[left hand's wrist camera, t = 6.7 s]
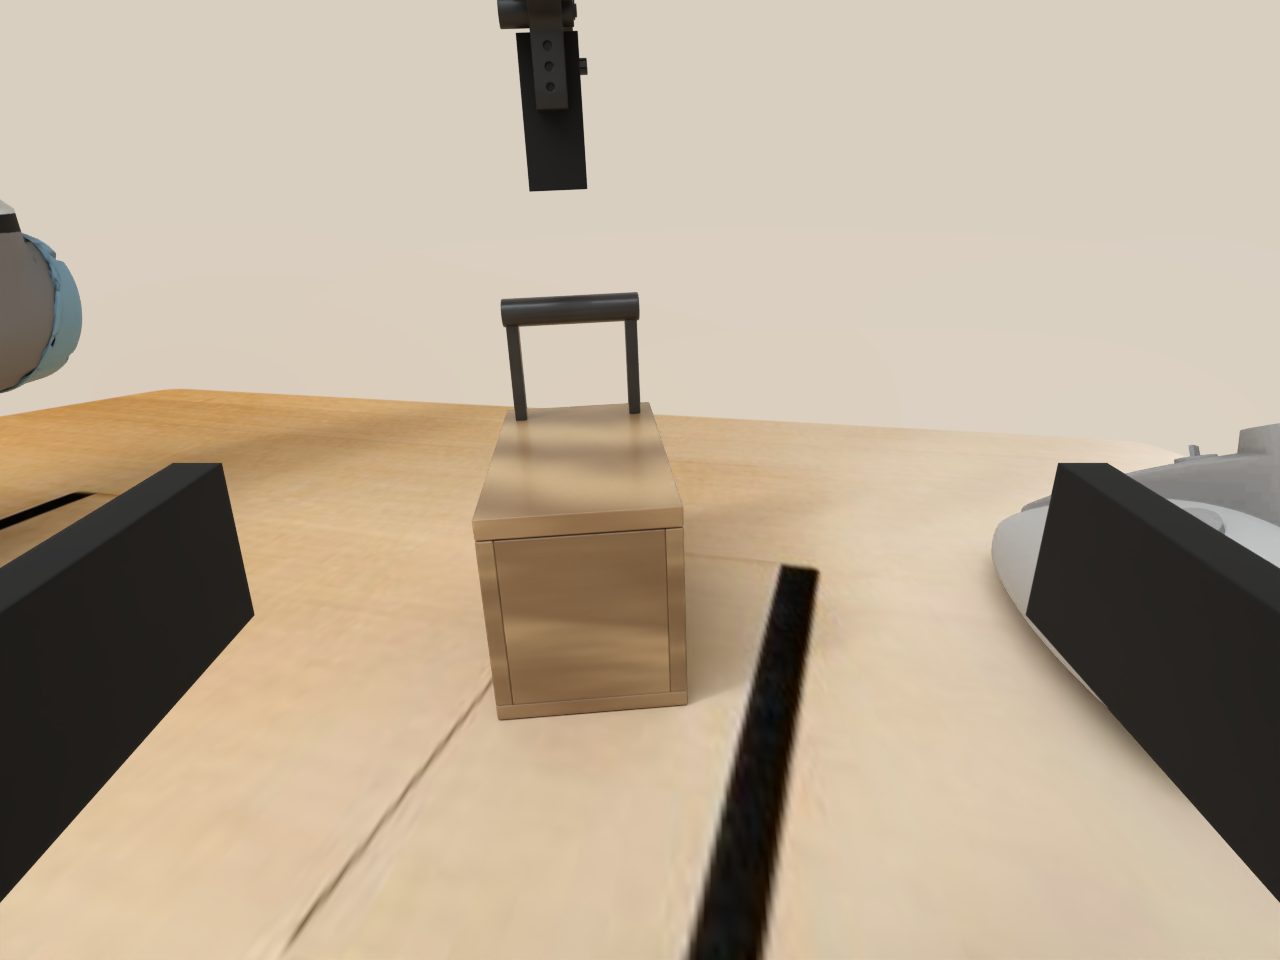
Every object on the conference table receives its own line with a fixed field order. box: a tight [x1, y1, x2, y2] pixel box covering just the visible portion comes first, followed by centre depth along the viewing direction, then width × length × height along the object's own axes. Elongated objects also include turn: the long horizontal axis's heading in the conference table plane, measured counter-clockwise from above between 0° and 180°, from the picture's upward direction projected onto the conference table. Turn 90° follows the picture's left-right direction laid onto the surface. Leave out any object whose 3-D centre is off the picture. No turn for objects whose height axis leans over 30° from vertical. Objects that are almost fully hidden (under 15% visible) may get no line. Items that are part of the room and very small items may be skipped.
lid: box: [472, 292, 683, 541], centre depth 40 cm, size 17×9×8 cm, turn 5°
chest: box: [475, 526, 687, 720], centre depth 43 cm, size 17×9×10 cm, turn 5°
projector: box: [992, 423, 1280, 706], centre depth 35 cm, size 22×23×15 cm
